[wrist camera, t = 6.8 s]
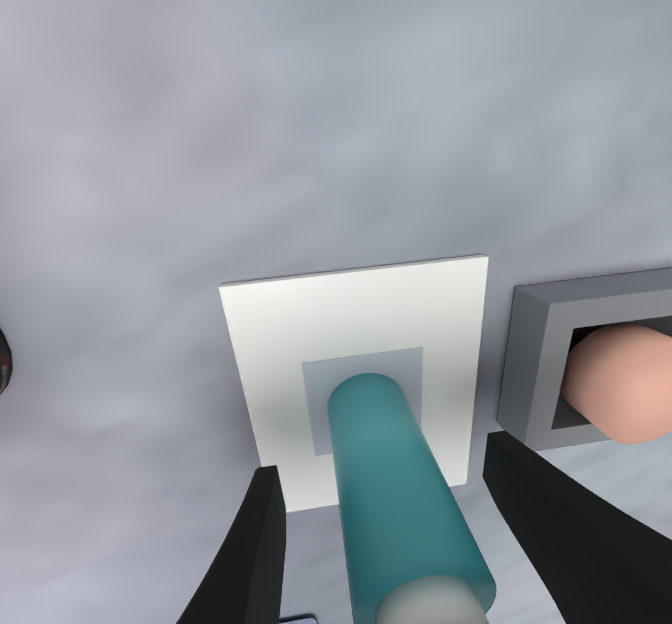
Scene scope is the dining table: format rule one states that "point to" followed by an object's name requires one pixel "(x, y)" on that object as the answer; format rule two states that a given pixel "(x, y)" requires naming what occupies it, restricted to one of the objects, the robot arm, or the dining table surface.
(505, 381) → the housing
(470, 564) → the marker
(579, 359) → the button
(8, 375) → the deodorant
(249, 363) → the pad
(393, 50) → the dining table surface
